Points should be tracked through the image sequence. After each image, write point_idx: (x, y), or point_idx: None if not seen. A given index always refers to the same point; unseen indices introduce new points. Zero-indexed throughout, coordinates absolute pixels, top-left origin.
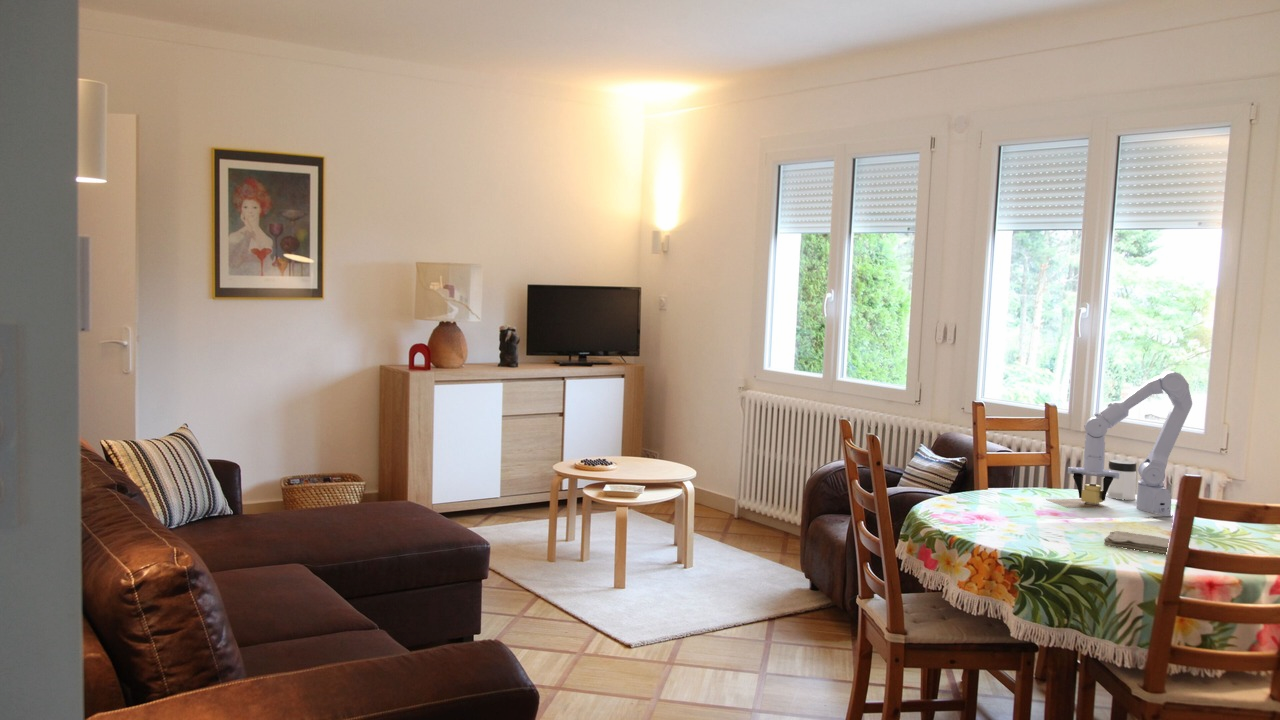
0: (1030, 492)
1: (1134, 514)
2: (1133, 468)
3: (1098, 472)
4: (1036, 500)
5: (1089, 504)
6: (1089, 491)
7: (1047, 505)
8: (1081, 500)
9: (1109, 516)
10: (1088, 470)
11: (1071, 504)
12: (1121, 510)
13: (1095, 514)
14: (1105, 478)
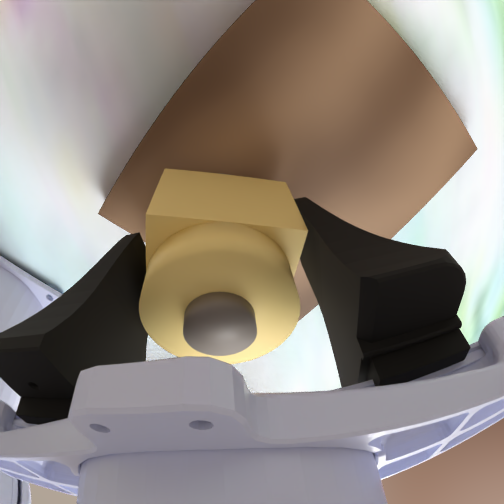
0: (488, 310)
1: (4, 226)
2: None
3: (76, 438)
4: (494, 183)
5: (218, 173)
6: (221, 217)
7: (449, 84)
8: (283, 183)
9: (40, 47)
10: (271, 452)
11: (328, 89)
12: (82, 268)
13: (120, 19)
14: (55, 384)
